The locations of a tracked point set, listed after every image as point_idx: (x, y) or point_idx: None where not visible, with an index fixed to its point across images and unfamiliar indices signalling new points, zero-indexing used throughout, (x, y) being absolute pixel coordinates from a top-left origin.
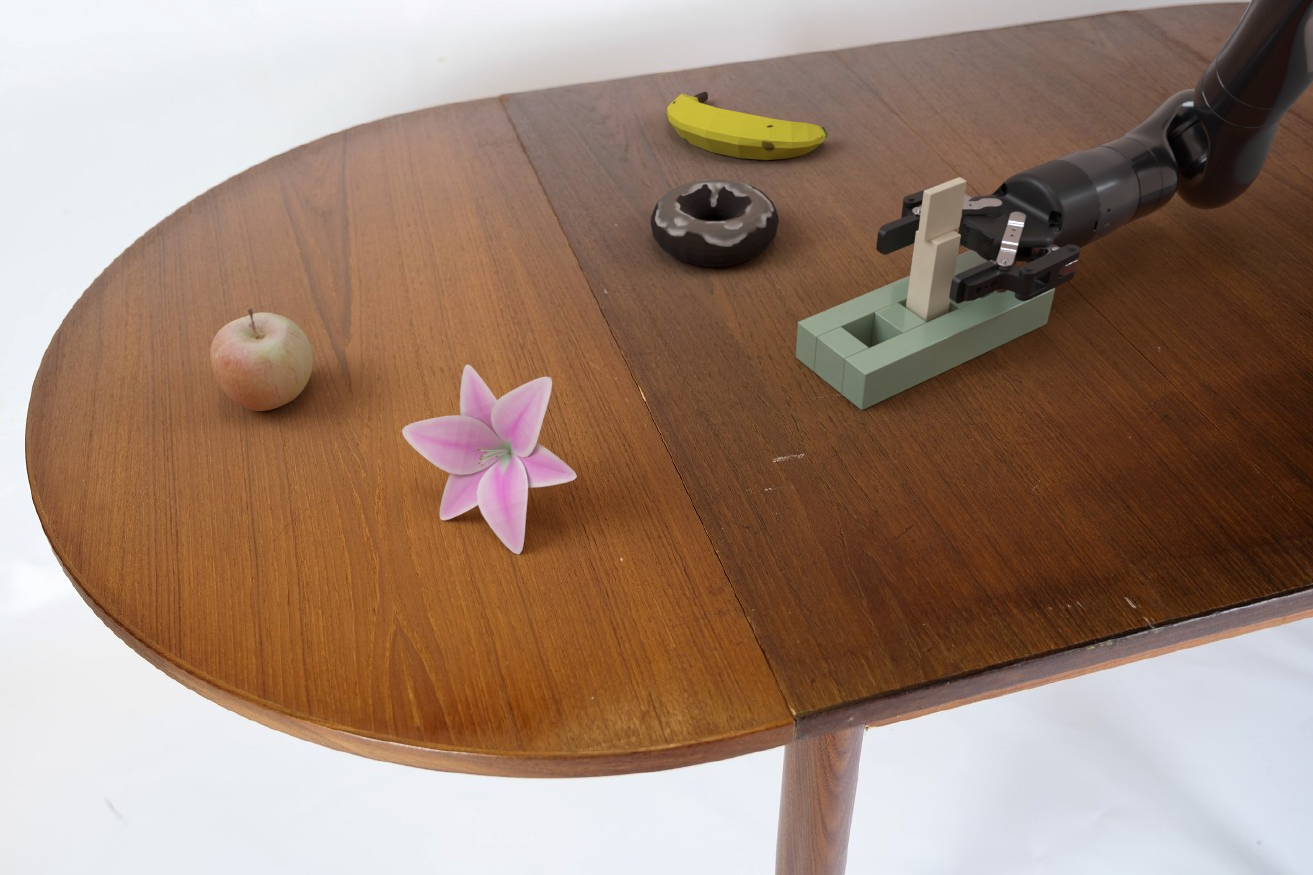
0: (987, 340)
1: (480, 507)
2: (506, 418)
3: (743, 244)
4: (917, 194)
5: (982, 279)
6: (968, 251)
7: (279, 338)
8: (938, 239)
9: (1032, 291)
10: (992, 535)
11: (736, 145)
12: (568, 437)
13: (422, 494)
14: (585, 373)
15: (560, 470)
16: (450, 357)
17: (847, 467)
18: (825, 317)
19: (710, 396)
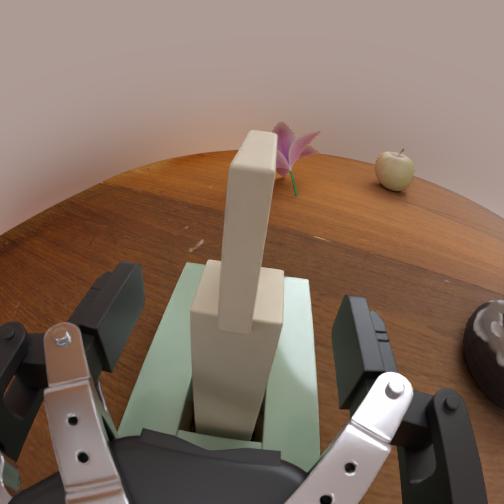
0: None
1: None
2: (288, 142)
3: (475, 341)
4: (464, 429)
5: (92, 295)
6: None
7: (391, 156)
8: (219, 269)
9: (17, 381)
10: (39, 261)
11: None
12: (306, 209)
13: (303, 180)
14: (359, 234)
15: None
16: (398, 217)
17: (154, 257)
18: (298, 298)
19: (293, 255)
